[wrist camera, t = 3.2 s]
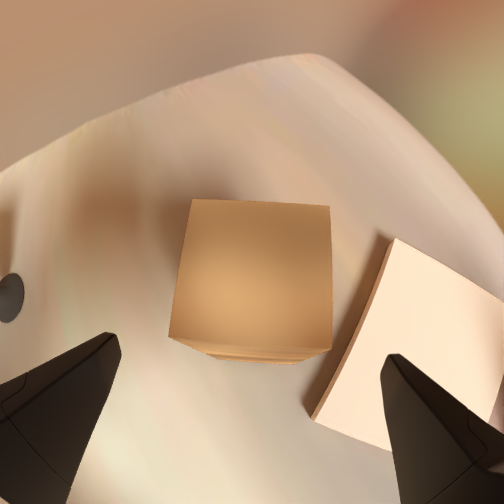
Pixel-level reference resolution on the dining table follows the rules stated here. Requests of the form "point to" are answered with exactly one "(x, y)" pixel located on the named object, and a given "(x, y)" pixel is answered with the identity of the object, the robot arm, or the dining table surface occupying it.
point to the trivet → (417, 343)
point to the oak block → (255, 281)
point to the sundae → (10, 297)
